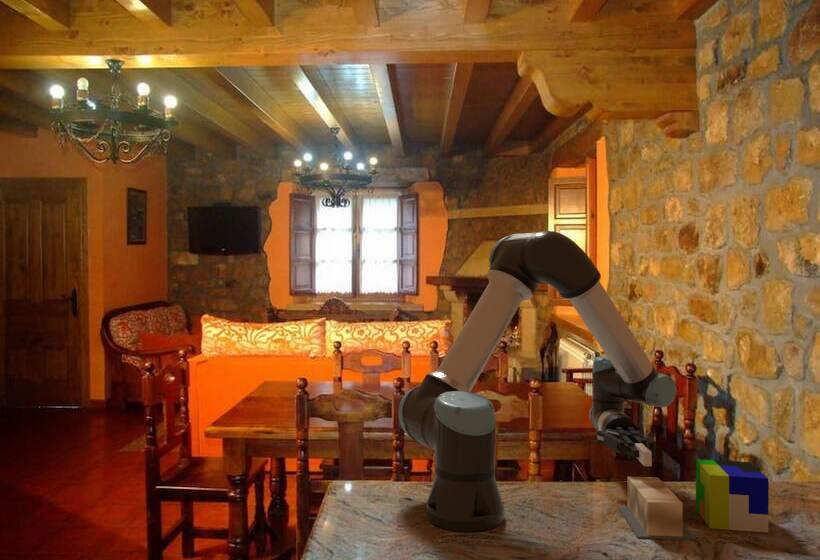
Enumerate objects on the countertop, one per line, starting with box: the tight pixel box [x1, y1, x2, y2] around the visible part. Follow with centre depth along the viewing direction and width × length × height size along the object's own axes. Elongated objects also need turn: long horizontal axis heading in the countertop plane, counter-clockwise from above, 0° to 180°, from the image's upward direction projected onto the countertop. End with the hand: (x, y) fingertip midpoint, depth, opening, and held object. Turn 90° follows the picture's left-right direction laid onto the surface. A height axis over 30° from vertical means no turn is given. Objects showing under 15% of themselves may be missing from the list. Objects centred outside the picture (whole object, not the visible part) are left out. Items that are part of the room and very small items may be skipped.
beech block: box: [626, 476, 684, 537], centre depth 117 cm, size 6×6×14 cm
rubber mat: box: [617, 506, 696, 541], centre depth 116 cm, size 14×10×1 cm
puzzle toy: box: [695, 458, 770, 533], centre depth 118 cm, size 10×10×10 cm
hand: (647, 459), depth 120 cm, fingers closed
